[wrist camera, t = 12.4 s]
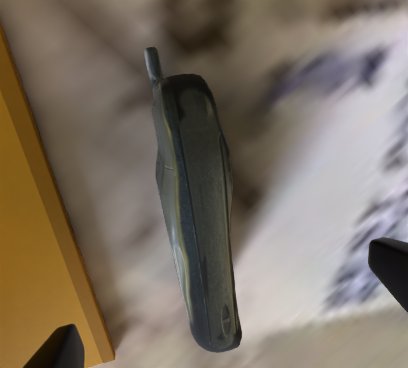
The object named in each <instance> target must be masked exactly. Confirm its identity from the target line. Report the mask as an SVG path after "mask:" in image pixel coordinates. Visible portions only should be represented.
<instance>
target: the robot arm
mask: <svg viewBox="0 0 408 368" xmlns="http://www.w3.org/2000/svg"><path fill="white" fill-rule="evenodd" d="M368 264H369V267H370V269H371V270H372V271H373V273H374V274H375V275H376V276H377V277H378V279H379V280H380V281H381V282H382V283H383V284H384V286H385V287H386V288H387V289H388V290H389V292H390V293H391V294H392V295H393V296H394V298H395V299H396V300H397V301H398V302H399V303H400V305H401V306H402V307H403V308H404V309H405V310H406V311H407V312H408V243H407V242H403V241H398V240H394V239H390V238H385V237H382V238H378V239H374V240H372V241H371V242H370V244H369V255H368ZM84 362H85V349H84V345H83V342H82V340H81V337H80V335H79V332H78V330H77V327H76V326H75V324H68V325H64V326H61V327H58V328H57V329H56V330H55V331H54V332H53V333H52V334H51V335H50V336H49V338H48V339H47V340H46V341H45V342H44V343H43V345H42V346H41V347H40V348H39V349H38V350H37V351H36V353H35V354H34V355H33V356H32V357H31V358H30V360H29V361H28V362H27V363H26V364H25V365H24V366H23V368H84Z"/></svg>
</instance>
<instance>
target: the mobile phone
mask: <svg viewBox="0 0 408 368" xmlns="http://www.w3.org/2000/svg"><path fill="white" fill-rule="evenodd" d="M144 57H145V62H146V66H147V71H148V75H149V79H150V82H151V86H152V91H153V96H154V103H153V107H152V115H153V120H154V124H155V129H156V134H157V140H158V154H157V162H156V180H157V185H158V190H159V194H160V199H161V204H162V208H163V213H164V218H165V222H166V226H167V231H168V235H169V239H170V244H171V248H172V252H173V256H174V261H175V265H176V269H177V273H178V278H179V282H180V286H181V291H182V295H183V299H184V303H185V308H186V312H187V316H188V321H189V325H190V329H191V332H192V335H193V337H194V339H195V341H196V342H197V343H198V345H200V346H201V347H202V348H204V349H205V350H207V351H211V352H217V353H218V352H225V351H229V350H232V349H234V348H237V347H238V346H239V345H240V341H241V338H242V330H241V325H240V321H239V315H238V308H237V301H236V293H235V281H234V272H233V263H232V255H231V245H230V231H231V202H232V192H233V182H232V168H231V159H230V153H229V149H228V145H227V141H226V138H225V135H224V132H223V129H222V126H221V123H220V119H219V115H218V112H217V108H216V104H215V101H214V98H213V95H212V92H211V91H210V89H209V87H208V85H207V83H206V82H205V80H204V79H203V78H202V77H201V76H199V75H196V74H181V75H174V76H170V77H167V78H165V79H164V77H163V74H162V71H161V66H160V61H159V56H158V52H157V49H156V48H155V47H149V48H146V49H144Z"/></svg>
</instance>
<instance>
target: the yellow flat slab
mask: <svg viewBox="0 0 408 368" xmlns="http://www.w3.org/2000/svg"><path fill="white" fill-rule="evenodd" d="M68 324H75V326H76V327H77V330H78V332H79V335H80V337H81V340H82V342H83V345H84V349H85V362H84V368H88V367H91V366H94V365H97V364H101V363H106V362H109V361H112V360H115V351H114V349H113V346H112V343H111V340H110V337H109V334H108V331H107V328H106V326H105V323H104V320H103V317H102V314H101V311H100V308H99V305H98V302H97V300H96V297H95V294H94V291H93V288H92V285H91V282H90V279H89V277H88V274H87V271H86V268H85V265H84V262H83V259H82V256H81V253H80V251H79V248H78V245H77V242H76V239H75V236H74V233H73V230H72V227H71V225H70V222H69V219H68V216H67V213H66V210H65V207H64V204H63V202H62V199H61V196H60V193H59V190H58V187H57V184H56V181H55V178H54V176H53V173H52V170H51V167H50V164H49V161H48V158H47V155H46V153H45V150H44V147H43V144H42V141H41V138H40V135H39V132H38V129H37V127H36V124H35V121H34V118H33V115H32V112H31V109H30V106H29V104H28V101H27V98H26V95H25V92H24V89H23V86H22V83H21V80H20V78H19V75H18V72H17V69H16V66H15V63H14V60H13V57H12V55H11V52H10V49H9V46H8V43H7V40H6V37H5V34H4V31H3V29H2V26H1V23H0V368H23V366H24V365H25V364H26V363H27V362H28V361H29V360H30V358H31V357H32V356H33V355H34V354H35V353H36V351H37V350H38V349H39V348H40V347H41V346H42V345H43V343H44V342H45V341H46V340H47V339H48V338H49V336H50V335H51V334H52V333H53V332H54V331H55V330H56V329H57V328H58V327H61V326H64V325H68Z"/></svg>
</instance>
